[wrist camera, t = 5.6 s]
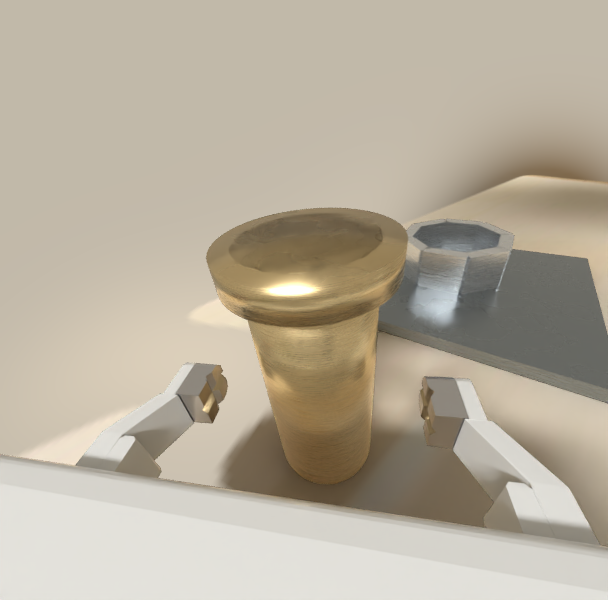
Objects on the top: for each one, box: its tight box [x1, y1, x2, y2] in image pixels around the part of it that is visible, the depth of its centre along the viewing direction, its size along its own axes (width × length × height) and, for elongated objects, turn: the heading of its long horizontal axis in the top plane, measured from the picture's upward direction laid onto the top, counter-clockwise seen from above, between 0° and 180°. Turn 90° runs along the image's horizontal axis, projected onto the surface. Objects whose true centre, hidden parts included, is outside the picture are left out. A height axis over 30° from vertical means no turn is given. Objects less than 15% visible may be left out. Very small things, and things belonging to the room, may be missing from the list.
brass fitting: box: [206, 208, 408, 484], centre depth 12 cm, size 6×6×12 cm
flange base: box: [378, 219, 608, 403], centre depth 25 cm, size 18×18×4 cm
